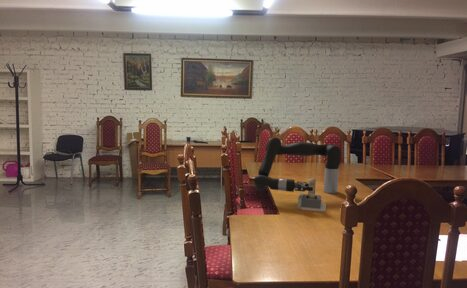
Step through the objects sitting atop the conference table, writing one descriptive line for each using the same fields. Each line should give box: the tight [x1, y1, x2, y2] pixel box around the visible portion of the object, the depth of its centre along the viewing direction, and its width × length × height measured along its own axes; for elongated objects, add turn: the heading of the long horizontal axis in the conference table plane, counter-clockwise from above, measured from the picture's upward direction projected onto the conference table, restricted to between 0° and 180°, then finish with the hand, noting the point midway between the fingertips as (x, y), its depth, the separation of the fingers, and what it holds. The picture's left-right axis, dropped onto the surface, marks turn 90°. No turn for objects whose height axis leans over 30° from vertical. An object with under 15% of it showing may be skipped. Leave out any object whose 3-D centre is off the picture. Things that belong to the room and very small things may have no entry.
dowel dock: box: [297, 192, 327, 213], centre depth 220 cm, size 14×16×6 cm
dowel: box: [307, 178, 316, 199], centre depth 219 cm, size 4×4×16 cm
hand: (313, 187), depth 218 cm, fingers open, 8 cm apart
